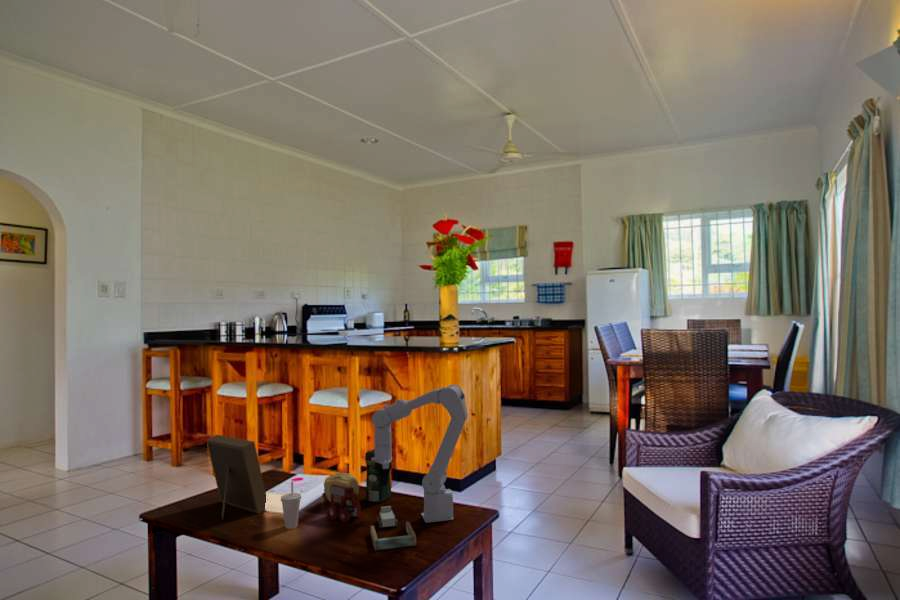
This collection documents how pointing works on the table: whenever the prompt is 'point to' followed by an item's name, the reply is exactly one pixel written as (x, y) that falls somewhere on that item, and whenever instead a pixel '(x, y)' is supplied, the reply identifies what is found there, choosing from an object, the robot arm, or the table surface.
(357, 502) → the red toy race car
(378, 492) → the coffee jar
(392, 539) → the bay
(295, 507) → the smoothie
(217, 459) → the photo frame
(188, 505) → the table surface
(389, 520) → the grey knobbed block
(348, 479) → the sculpture
